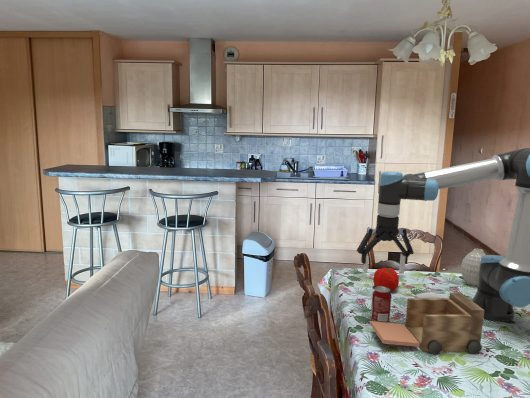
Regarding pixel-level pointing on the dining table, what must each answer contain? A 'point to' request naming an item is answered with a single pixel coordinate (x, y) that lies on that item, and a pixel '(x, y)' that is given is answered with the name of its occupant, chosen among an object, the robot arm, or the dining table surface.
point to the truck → (445, 323)
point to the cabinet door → (394, 334)
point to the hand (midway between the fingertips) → (383, 272)
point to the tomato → (386, 278)
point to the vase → (472, 266)
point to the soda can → (381, 304)
